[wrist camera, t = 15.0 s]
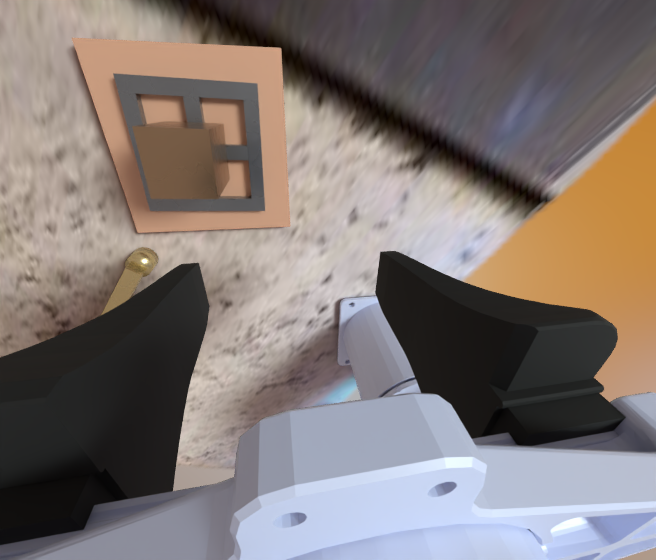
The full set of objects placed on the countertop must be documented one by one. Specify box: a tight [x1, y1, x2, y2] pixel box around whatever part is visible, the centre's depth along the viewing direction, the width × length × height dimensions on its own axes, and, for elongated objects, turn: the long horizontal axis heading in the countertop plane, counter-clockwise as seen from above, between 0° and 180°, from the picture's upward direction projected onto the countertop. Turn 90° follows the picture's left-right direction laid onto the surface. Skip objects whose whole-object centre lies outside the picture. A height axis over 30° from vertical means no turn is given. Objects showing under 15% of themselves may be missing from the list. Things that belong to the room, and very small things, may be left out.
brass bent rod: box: [100, 247, 158, 316], centre depth 22 cm, size 6×12×2 cm, turn 179°
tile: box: [72, 38, 290, 233], centre depth 18 cm, size 10×10×1 cm
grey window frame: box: [113, 73, 265, 211], centre depth 15 cm, size 7×7×5 cm
